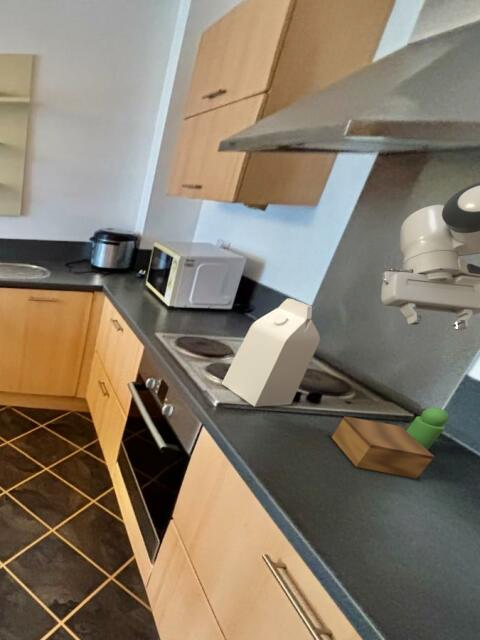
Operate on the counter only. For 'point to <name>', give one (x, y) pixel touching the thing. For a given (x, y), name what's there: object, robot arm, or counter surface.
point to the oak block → (381, 447)
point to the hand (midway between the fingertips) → (437, 326)
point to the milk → (274, 356)
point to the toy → (428, 426)
